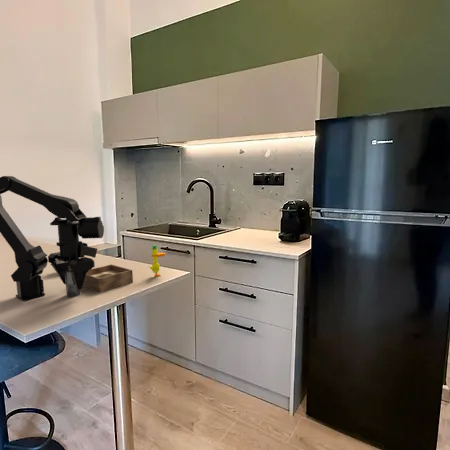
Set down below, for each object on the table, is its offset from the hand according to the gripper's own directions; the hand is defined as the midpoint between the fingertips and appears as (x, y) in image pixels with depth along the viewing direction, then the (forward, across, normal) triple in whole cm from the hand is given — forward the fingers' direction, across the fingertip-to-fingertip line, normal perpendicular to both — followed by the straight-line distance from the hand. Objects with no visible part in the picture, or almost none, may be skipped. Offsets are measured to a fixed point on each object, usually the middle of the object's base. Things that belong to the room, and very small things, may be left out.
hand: (72, 286), depth 106 cm
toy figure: (+3, -6, -30) cm, 31 cm away
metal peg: (+3, 0, 0) cm, 3 cm away
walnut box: (+3, +2, -13) cm, 13 cm away
